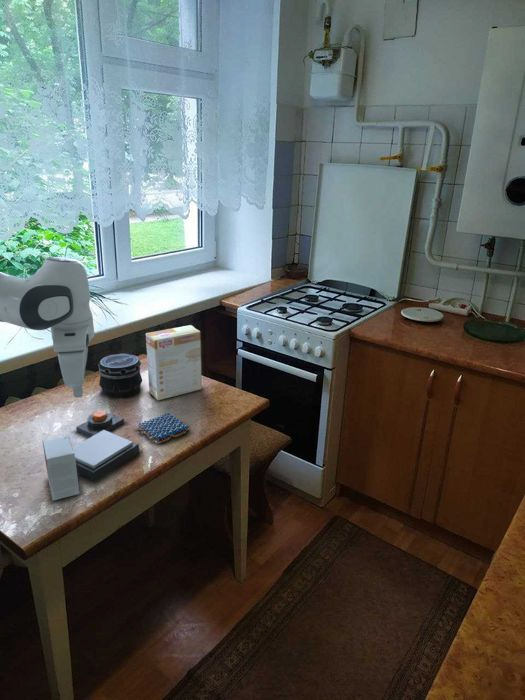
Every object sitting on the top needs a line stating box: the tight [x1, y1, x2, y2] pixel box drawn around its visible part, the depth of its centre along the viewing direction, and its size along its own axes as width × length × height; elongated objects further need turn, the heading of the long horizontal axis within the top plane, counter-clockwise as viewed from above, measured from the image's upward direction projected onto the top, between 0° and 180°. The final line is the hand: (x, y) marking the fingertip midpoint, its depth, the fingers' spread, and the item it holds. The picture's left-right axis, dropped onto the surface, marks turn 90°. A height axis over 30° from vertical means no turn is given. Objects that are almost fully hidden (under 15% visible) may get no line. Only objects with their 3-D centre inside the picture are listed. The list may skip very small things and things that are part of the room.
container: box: [97, 353, 143, 399], centre depth 151 cm, size 13×13×10 cm
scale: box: [72, 430, 140, 483], centre depth 118 cm, size 14×12×3 cm
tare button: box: [92, 410, 107, 421], centre depth 131 cm, size 3×3×2 cm
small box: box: [42, 435, 80, 502], centre depth 107 cm, size 8×6×10 cm
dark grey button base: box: [75, 411, 125, 438], centre depth 132 cm, size 10×7×3 cm
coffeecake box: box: [145, 324, 203, 401], centre depth 150 cm, size 15×7×20 cm, turn 124°
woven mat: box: [136, 412, 190, 444], centre depth 131 cm, size 10×11×2 cm
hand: (80, 386), depth 114 cm, fingers open, 8 cm apart
